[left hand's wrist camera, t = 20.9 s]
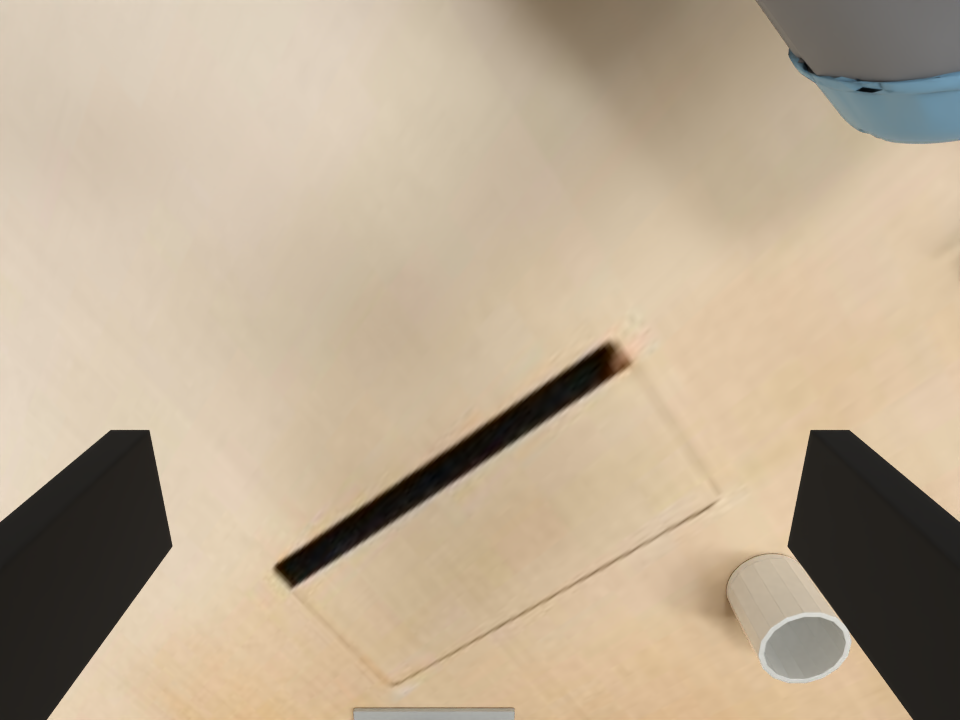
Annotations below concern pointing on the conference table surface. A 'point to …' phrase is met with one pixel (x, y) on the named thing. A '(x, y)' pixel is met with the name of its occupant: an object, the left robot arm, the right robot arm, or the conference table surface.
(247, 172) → the conference table surface
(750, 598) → the white cup
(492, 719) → the grey mat
